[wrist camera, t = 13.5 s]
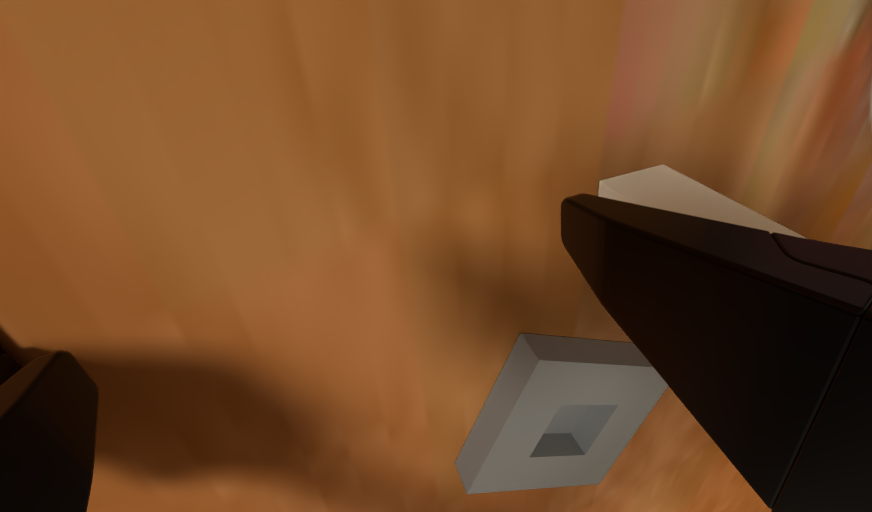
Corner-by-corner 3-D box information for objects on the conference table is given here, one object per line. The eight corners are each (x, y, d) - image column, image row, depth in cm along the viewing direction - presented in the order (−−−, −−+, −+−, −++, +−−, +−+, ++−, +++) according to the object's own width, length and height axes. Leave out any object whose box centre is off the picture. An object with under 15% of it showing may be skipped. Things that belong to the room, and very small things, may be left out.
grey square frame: (454, 463, 35) (466, 494, 33) (520, 333, 30) (539, 360, 28) (581, 457, 40) (599, 483, 38) (655, 345, 35) (680, 368, 33)
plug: (594, 243, 28) (750, 376, 19) (599, 180, 26) (778, 298, 17) (653, 226, 29) (829, 346, 20) (663, 164, 27) (866, 268, 18)
